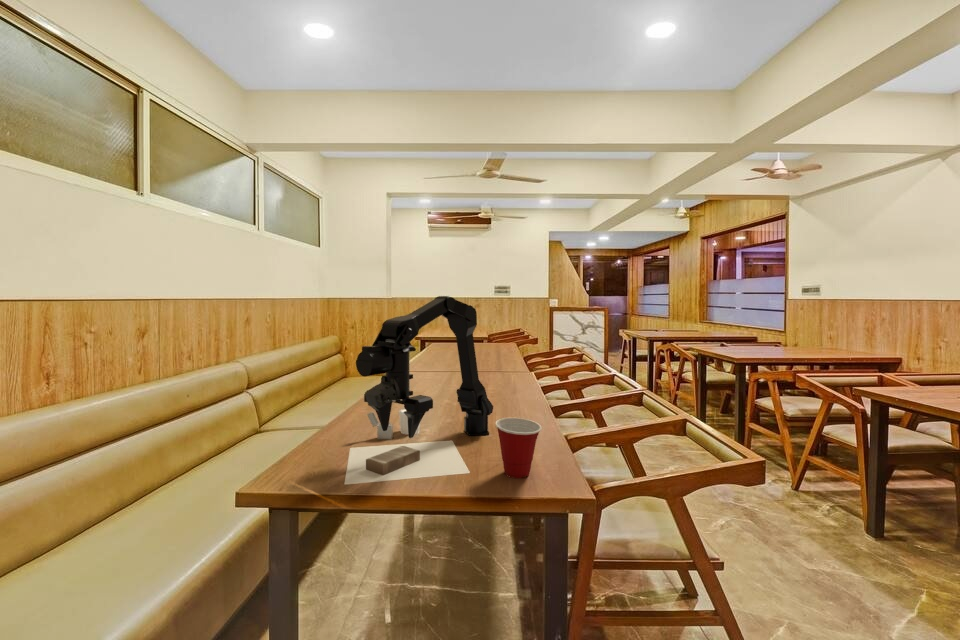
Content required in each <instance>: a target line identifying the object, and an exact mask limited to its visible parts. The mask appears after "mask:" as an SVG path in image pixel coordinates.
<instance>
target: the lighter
mask: <svg viewBox="0 0 960 640" xmlns="http://www.w3.org/2000/svg"><path fill="white" fill-rule="evenodd" d="M367 418H368V420H369V421H370V423H371V425H372V427H373V428H375V427H376V429H377V434H376V435H377V436H376V437H377V438H376V439H377V440H392V439H393V438H394V437H393V436H394V435H393V431H394V429H393V425H394V424H392V423H391V422H389V425H388V429H387V431H383V430H382V427H381V424H380V422H379V420H378V417H377V416H376V414H375V412H374V411H370V412H368V413H367Z"/></svg>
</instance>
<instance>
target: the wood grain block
mask: <svg viewBox="0 0 960 640" xmlns="http://www.w3.org/2000/svg"><path fill="white" fill-rule="evenodd" d="M419 460H420V451H419V450H416V449H412V448H409V447H405V446H401V447H398V448H395V449H393V450H390V451H387V452H384V453H382V454H379V455H376V456H373V457H371V458H368V459H366V470H369V471H372V472H374V473H377V474H380V475H386V474H388V473H390V472H393V471H395V470H398V469H400V468H402V467H405V466H407V465H410V464H412V463H414V462H417V461H419Z"/></svg>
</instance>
